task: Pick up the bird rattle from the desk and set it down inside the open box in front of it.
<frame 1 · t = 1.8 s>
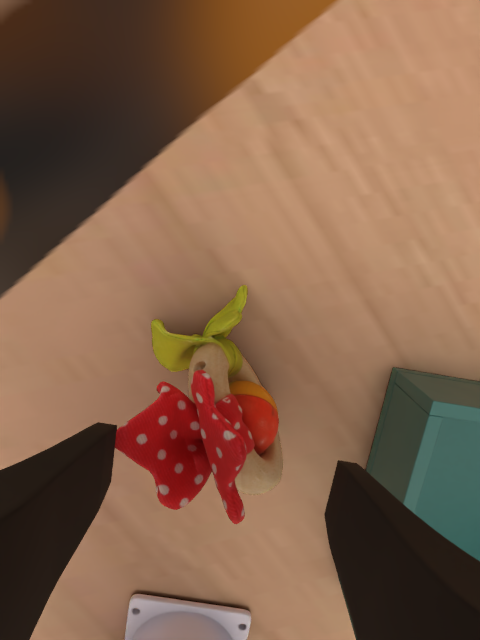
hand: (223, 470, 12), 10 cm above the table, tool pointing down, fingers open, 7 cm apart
open box: (461, 493, 23), on the table
bird rattle: (233, 363, 22), on the table, touching gripper
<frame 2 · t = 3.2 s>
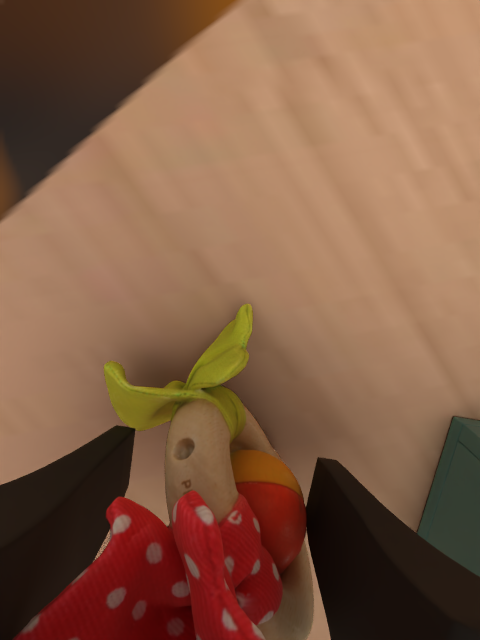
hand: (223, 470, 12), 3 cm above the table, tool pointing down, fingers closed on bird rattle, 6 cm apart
bird rattle: (228, 411, 15), on the table, touching gripper
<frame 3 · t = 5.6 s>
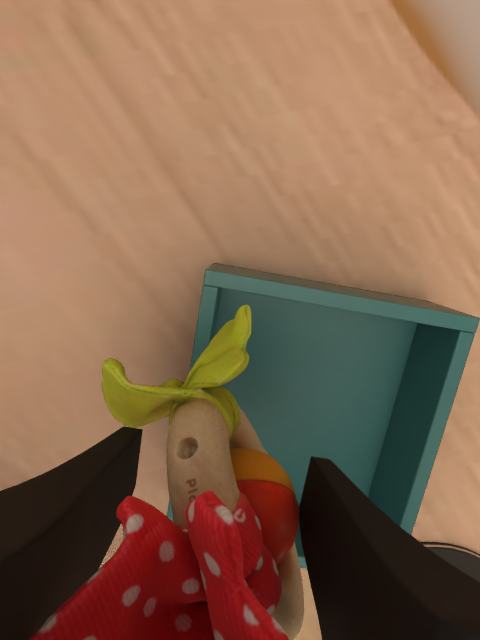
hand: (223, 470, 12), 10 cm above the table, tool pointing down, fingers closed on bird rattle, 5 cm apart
open box: (296, 399, 23), on the table
microphone: (419, 619, 26), on the table
bird rattle: (219, 409, 16), point 7 cm above the table, touching gripper
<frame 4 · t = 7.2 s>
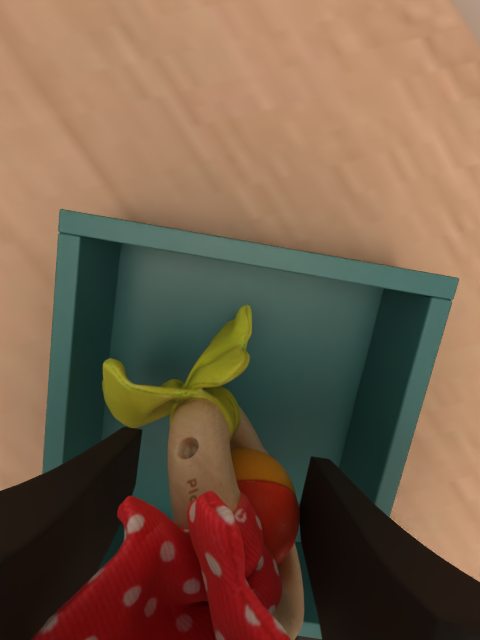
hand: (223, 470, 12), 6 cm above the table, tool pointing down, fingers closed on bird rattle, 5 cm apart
open box: (229, 398, 18), on the table
bird rattle: (219, 409, 16), point 2 cm above the table, touching gripper
when the fingers open (4 cm above the table, at t = 8.1 s): bird rattle stays where it is, resting on open box.
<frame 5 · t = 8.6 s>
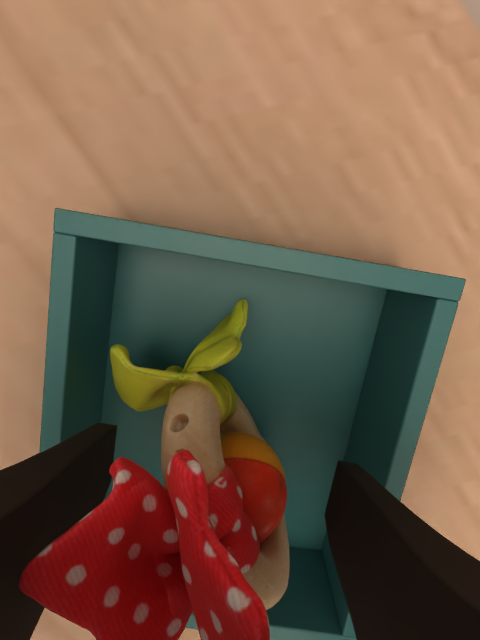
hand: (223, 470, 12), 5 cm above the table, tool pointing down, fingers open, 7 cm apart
open box: (229, 401, 17), on the table
bird rattle: (221, 399, 17), point 1 cm above the table, touching open box, gripper
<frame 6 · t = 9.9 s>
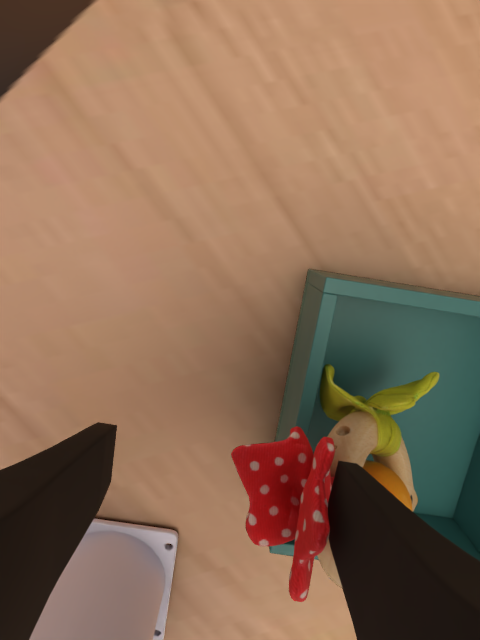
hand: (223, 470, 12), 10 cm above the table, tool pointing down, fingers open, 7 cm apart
open box: (386, 403, 23), on the table
bird rattle: (394, 442, 20), point 3 cm above the table
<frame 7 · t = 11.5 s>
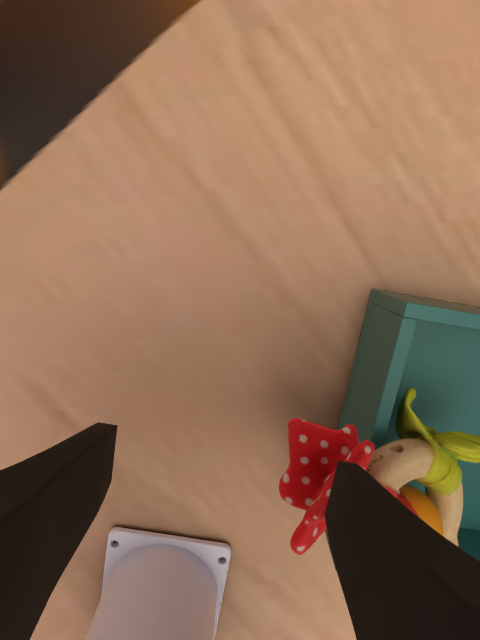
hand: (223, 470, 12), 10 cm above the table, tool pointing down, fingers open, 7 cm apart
open box: (442, 421, 23), on the table
bird rattle: (456, 489, 19), point 4 cm above the table, touching open box, gripper
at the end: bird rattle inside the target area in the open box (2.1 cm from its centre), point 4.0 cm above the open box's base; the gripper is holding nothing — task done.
